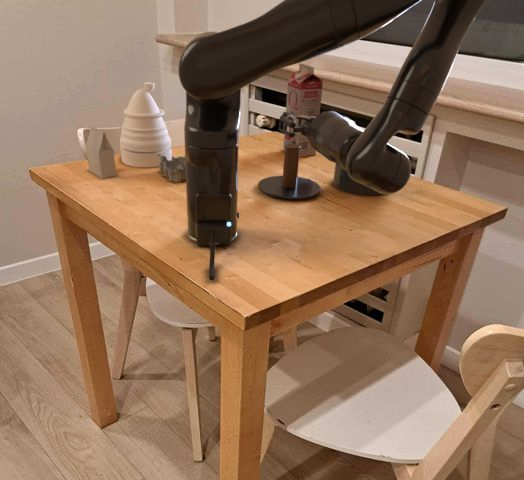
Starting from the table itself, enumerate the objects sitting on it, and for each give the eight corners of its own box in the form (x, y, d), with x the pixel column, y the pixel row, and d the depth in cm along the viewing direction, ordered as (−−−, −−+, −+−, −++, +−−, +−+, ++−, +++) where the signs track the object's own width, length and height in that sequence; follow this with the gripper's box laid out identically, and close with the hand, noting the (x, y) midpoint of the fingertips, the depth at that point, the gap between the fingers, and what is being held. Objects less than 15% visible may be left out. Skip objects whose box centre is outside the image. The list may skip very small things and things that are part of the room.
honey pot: (167, 151, 143) (163, 78, 132) (176, 166, 133) (172, 88, 122) (119, 153, 139) (111, 78, 129) (124, 168, 129) (116, 88, 119)
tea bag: (102, 178, 123) (96, 133, 117) (89, 170, 127) (83, 127, 121) (116, 175, 125) (111, 131, 119) (103, 168, 129) (98, 125, 123)
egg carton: (157, 169, 130) (156, 152, 128) (186, 167, 133) (185, 150, 130) (169, 183, 122) (168, 165, 120) (200, 180, 125) (199, 162, 123)
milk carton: (295, 157, 145) (302, 67, 132) (283, 150, 149) (289, 63, 136) (315, 154, 147) (324, 66, 134) (302, 148, 152) (310, 62, 139)
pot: (353, 201, 119) (358, 168, 114) (320, 174, 133) (323, 144, 129) (405, 197, 122) (412, 165, 118) (368, 172, 137) (373, 142, 132)
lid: (269, 203, 115) (272, 156, 109) (250, 181, 126) (251, 138, 120) (330, 199, 119) (335, 153, 113) (306, 178, 130) (310, 136, 124)
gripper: (374, 116, 96) (337, 97, 108) (302, 116, 92) (272, 97, 104) (367, 158, 100) (332, 135, 112) (297, 160, 96) (269, 136, 108)
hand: (303, 117), depth 108 cm, fingers open, 8 cm apart
